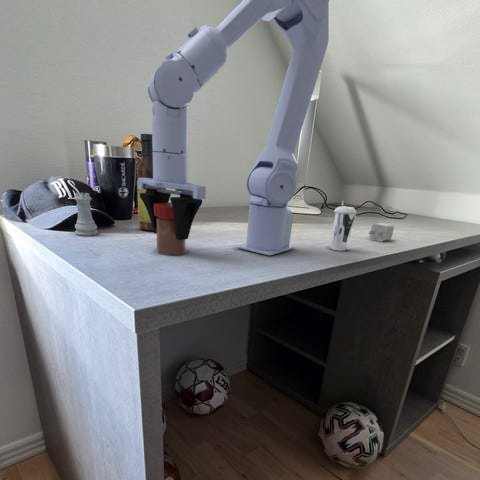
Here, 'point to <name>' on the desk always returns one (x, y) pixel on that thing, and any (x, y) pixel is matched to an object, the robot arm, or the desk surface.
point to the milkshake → (342, 226)
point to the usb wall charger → (381, 231)
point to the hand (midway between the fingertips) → (170, 236)
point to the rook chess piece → (84, 216)
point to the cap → (164, 210)
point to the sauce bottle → (145, 172)
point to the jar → (168, 237)
